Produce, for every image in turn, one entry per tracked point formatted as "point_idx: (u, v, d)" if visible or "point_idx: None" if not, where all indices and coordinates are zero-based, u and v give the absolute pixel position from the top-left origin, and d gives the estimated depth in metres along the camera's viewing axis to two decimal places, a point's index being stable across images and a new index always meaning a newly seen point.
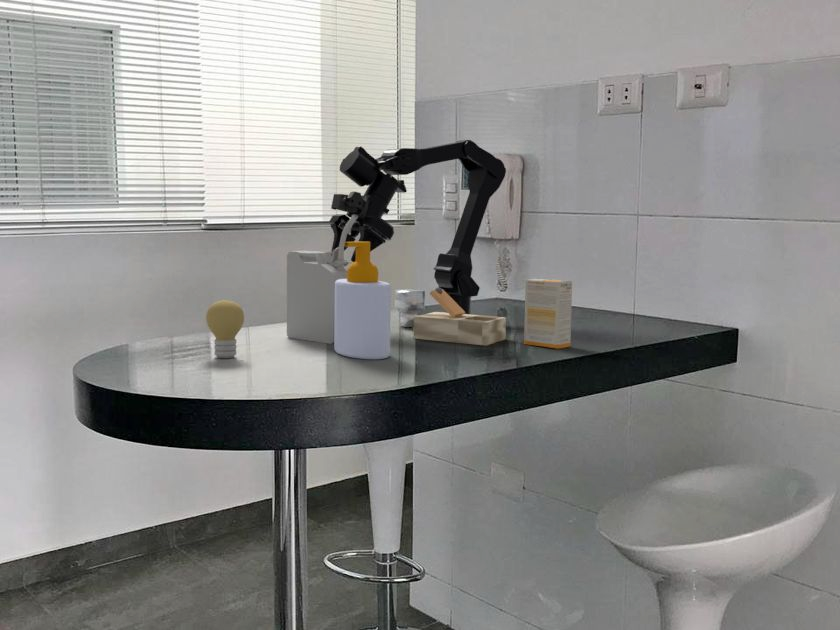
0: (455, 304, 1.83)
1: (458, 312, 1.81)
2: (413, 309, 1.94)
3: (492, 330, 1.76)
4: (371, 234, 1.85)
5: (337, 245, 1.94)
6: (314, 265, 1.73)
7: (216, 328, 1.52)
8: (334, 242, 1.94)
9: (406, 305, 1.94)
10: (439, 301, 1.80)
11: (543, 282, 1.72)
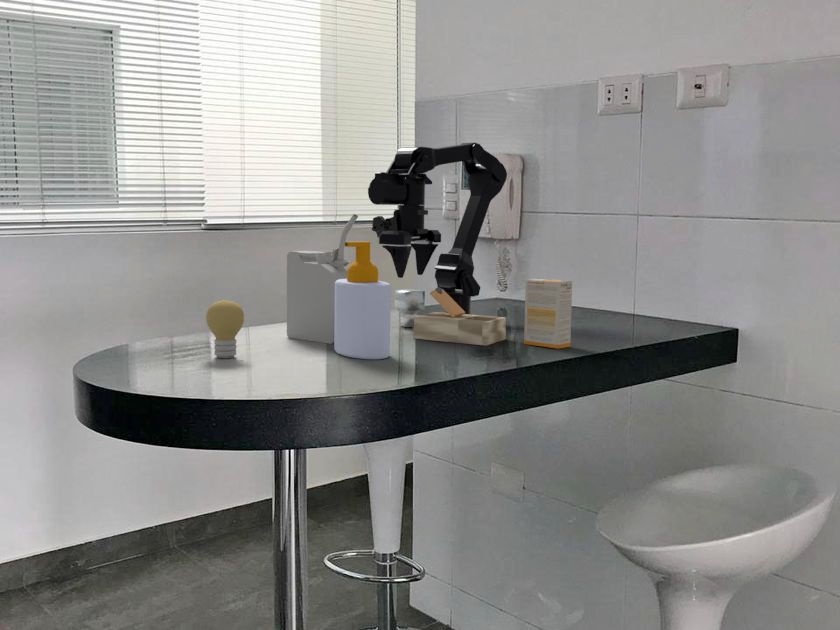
0: (455, 304, 1.83)
1: (458, 312, 1.81)
2: (413, 309, 1.94)
3: (492, 330, 1.76)
4: (392, 248, 1.90)
5: (418, 260, 2.01)
6: (314, 265, 1.73)
7: (216, 328, 1.52)
8: None
9: (406, 305, 1.94)
10: (439, 301, 1.80)
11: (543, 282, 1.72)
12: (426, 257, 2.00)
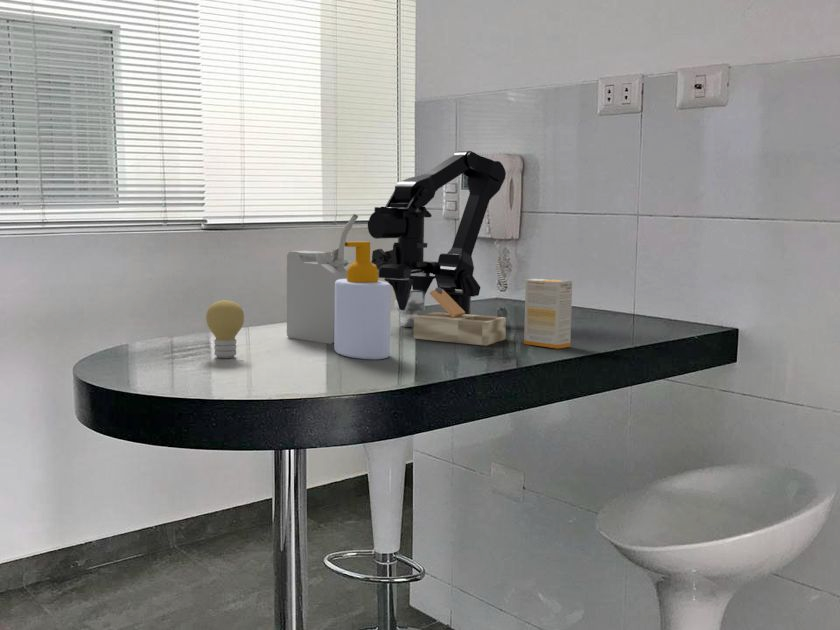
0: (455, 304, 1.83)
1: (458, 312, 1.81)
2: (413, 309, 1.94)
3: (492, 330, 1.76)
4: None
5: None
6: (314, 265, 1.73)
7: (216, 328, 1.52)
8: None
9: (406, 305, 1.94)
10: (439, 301, 1.80)
11: (543, 282, 1.72)
12: (423, 289, 2.00)
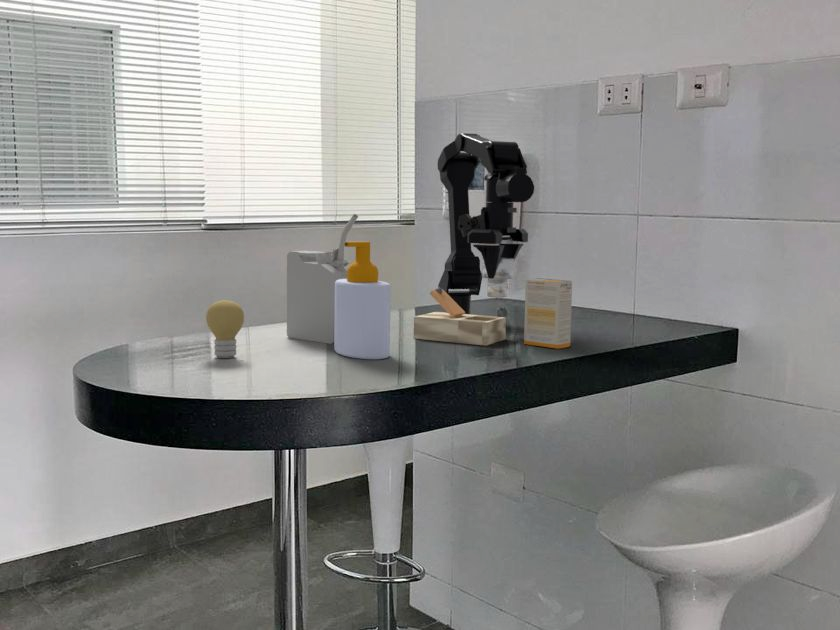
0: (455, 304, 1.83)
1: (458, 312, 1.81)
2: (502, 277, 1.84)
3: (492, 330, 1.76)
4: None
5: None
6: (314, 265, 1.73)
7: (216, 328, 1.52)
8: None
9: (495, 273, 1.84)
10: (439, 301, 1.80)
11: (543, 282, 1.72)
12: None
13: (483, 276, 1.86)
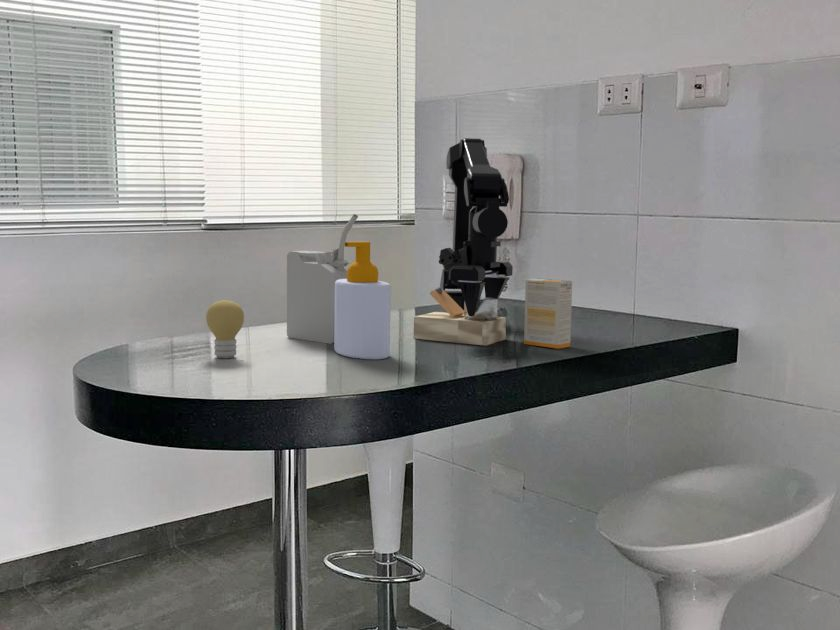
0: (455, 304, 1.83)
1: (458, 312, 1.81)
2: (486, 319, 1.76)
3: (492, 330, 1.76)
4: None
5: (488, 295, 1.83)
6: (314, 265, 1.73)
7: (216, 328, 1.52)
8: None
9: (478, 315, 1.76)
10: (439, 301, 1.80)
11: (543, 282, 1.72)
12: (497, 292, 1.82)
13: (465, 317, 1.78)
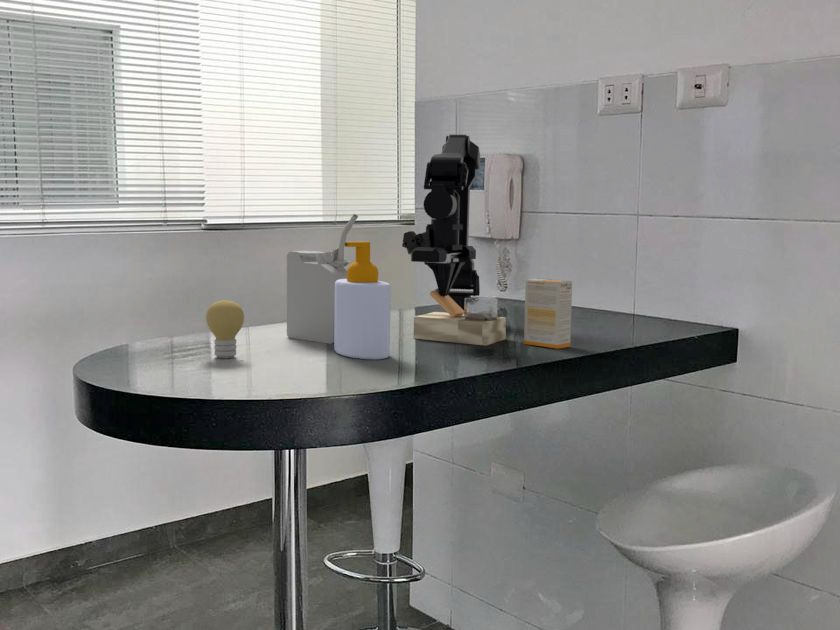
0: (455, 304, 1.83)
1: (458, 312, 1.81)
2: (486, 319, 1.76)
3: (492, 330, 1.76)
4: (435, 265, 1.79)
5: None
6: (314, 265, 1.73)
7: (216, 328, 1.52)
8: None
9: (478, 315, 1.76)
10: (439, 301, 1.80)
11: (543, 282, 1.72)
12: (452, 276, 1.81)
13: (465, 317, 1.78)
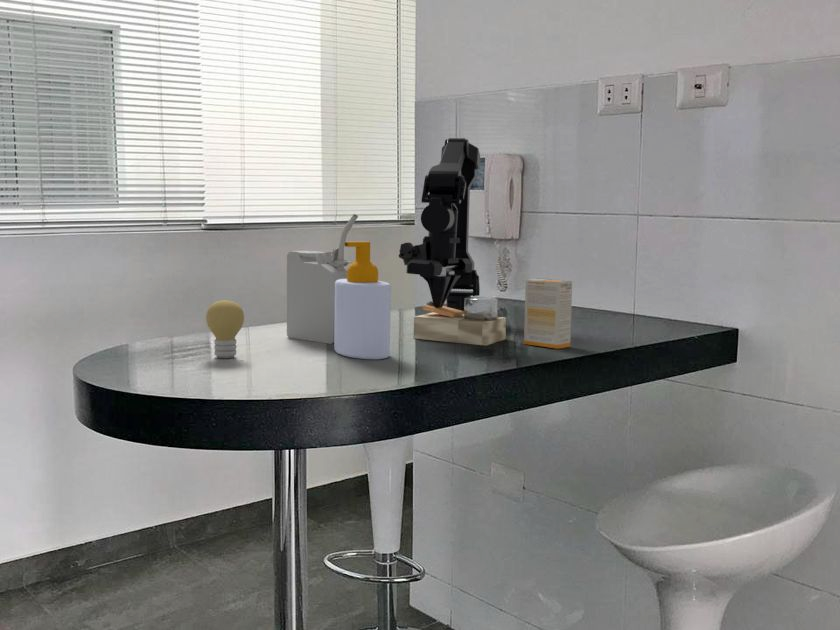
0: (451, 308, 1.83)
1: (456, 312, 1.81)
2: (486, 319, 1.76)
3: (492, 330, 1.76)
4: None
5: None
6: (314, 265, 1.73)
7: (216, 328, 1.52)
8: None
9: (478, 315, 1.76)
10: (434, 310, 1.81)
11: (543, 282, 1.72)
12: (447, 289, 1.82)
13: (465, 317, 1.78)
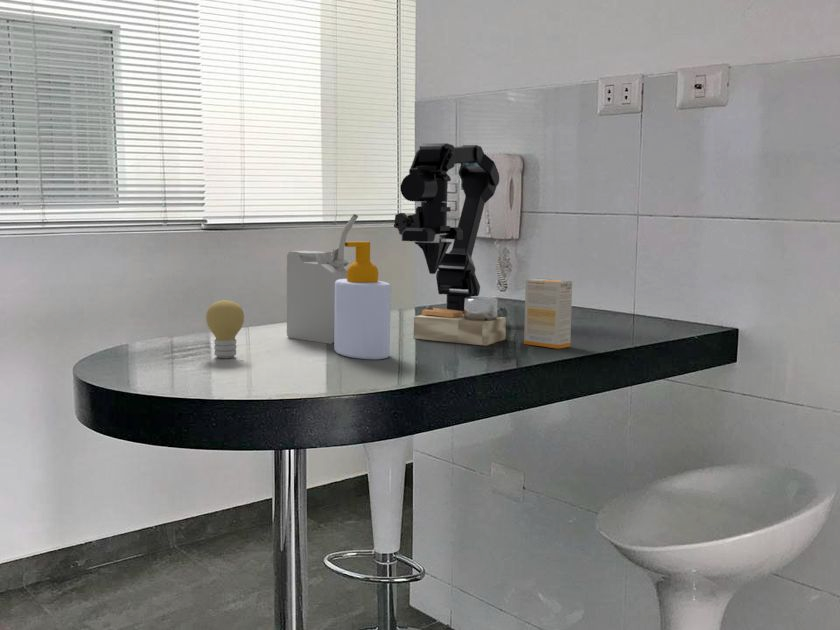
0: (450, 310, 1.84)
1: (455, 312, 1.81)
2: (486, 319, 1.76)
3: (492, 330, 1.76)
4: (425, 244, 1.92)
5: None
6: (314, 265, 1.73)
7: (216, 328, 1.52)
8: None
9: (478, 315, 1.76)
10: (433, 313, 1.81)
11: (543, 282, 1.72)
12: (439, 255, 1.94)
13: (465, 317, 1.78)
